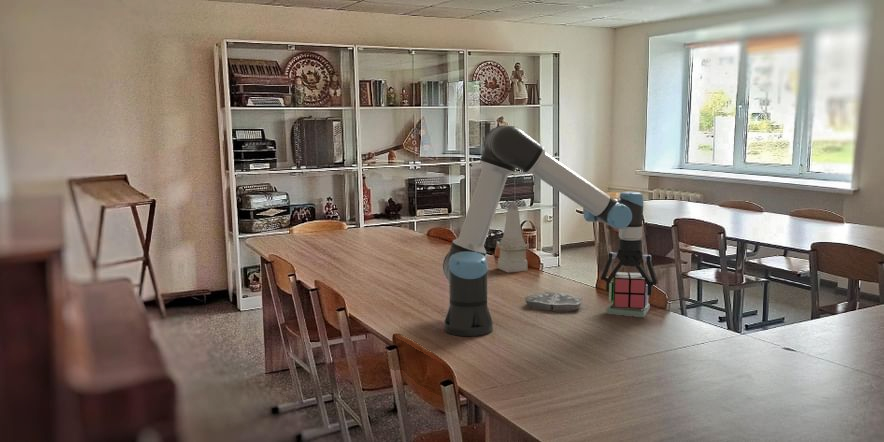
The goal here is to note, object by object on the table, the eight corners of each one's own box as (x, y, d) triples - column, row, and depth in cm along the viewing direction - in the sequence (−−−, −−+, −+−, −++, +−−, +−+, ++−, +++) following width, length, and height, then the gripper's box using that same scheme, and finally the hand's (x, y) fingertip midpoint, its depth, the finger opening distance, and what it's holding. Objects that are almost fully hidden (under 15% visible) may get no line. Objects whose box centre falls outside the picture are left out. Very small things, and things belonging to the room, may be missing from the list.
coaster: (643, 317, 226) (643, 312, 226) (606, 313, 231) (606, 308, 231) (649, 308, 237) (649, 303, 237) (614, 305, 242) (614, 300, 242)
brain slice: (584, 302, 248) (584, 294, 247) (580, 314, 231) (580, 306, 231) (529, 299, 253) (529, 291, 252) (522, 311, 237) (522, 302, 236)
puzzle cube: (644, 309, 228) (645, 279, 226) (613, 307, 230) (614, 278, 228) (642, 301, 238) (643, 272, 236) (612, 300, 240) (613, 271, 238)
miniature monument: (529, 270, 300) (529, 201, 296) (507, 272, 296) (507, 203, 292) (517, 266, 310) (518, 199, 306) (496, 268, 306) (496, 200, 302)
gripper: (668, 238, 229) (666, 303, 232) (597, 234, 239) (596, 296, 242) (665, 242, 222) (662, 309, 225) (592, 237, 232) (591, 301, 235)
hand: (628, 302), depth 234 cm, fingers closed on puzzle cube, 11 cm apart
